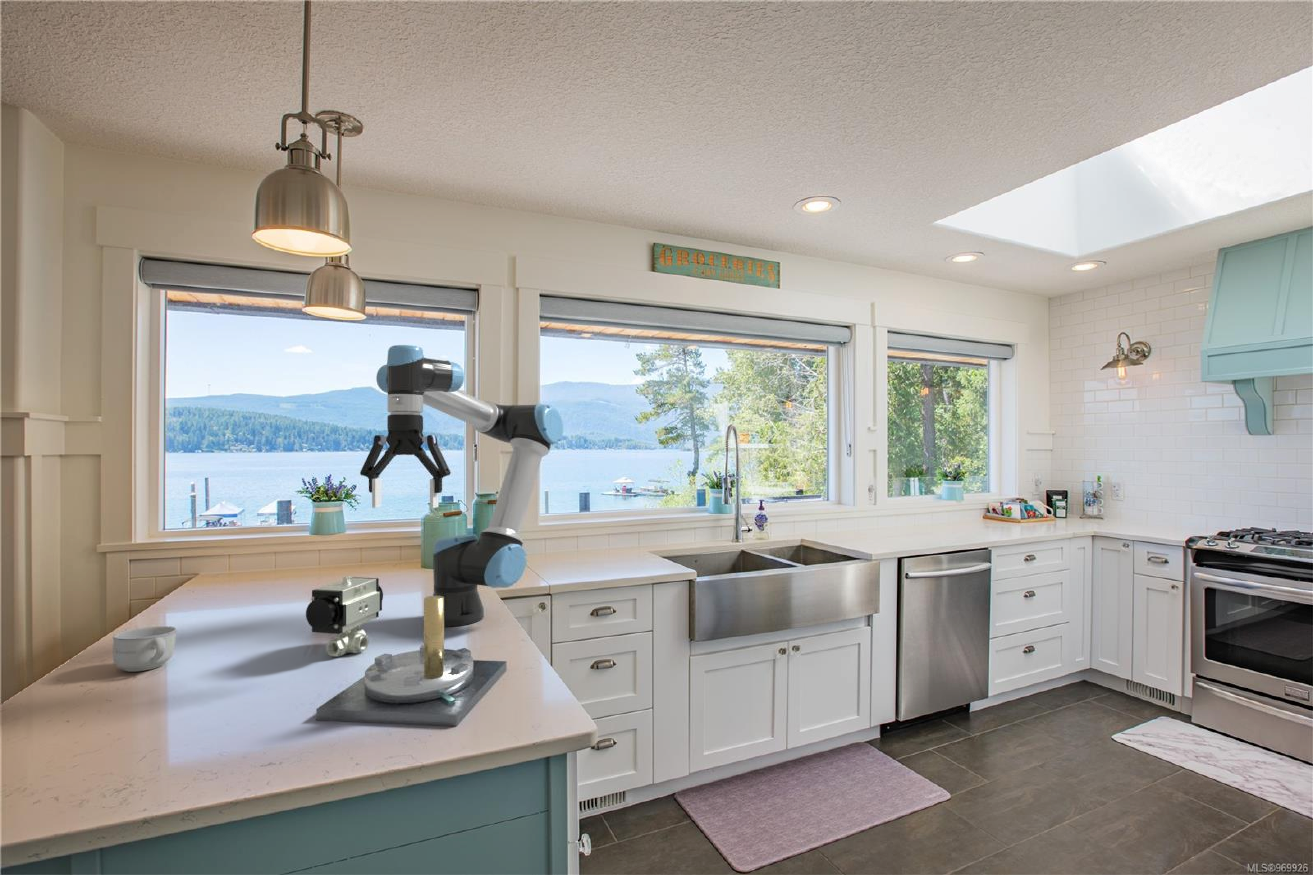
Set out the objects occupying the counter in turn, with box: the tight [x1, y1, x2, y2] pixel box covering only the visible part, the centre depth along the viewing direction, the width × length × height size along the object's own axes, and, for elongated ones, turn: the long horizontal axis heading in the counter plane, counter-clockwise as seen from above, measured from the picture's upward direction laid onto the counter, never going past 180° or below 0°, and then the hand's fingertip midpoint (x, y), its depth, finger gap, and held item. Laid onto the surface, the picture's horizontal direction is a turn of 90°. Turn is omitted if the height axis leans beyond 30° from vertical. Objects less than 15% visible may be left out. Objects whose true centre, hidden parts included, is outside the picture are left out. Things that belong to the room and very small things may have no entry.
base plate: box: [315, 659, 508, 727], centre depth 122 cm, size 26×26×3 cm
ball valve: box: [305, 575, 384, 657], centre depth 145 cm, size 18×8×18 cm, turn 168°
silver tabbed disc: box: [364, 595, 474, 703], centre depth 122 cm, size 20×20×18 cm
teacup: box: [112, 625, 178, 673], centre depth 135 cm, size 14×11×8 cm
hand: (405, 507), depth 140 cm, fingers open, 13 cm apart
